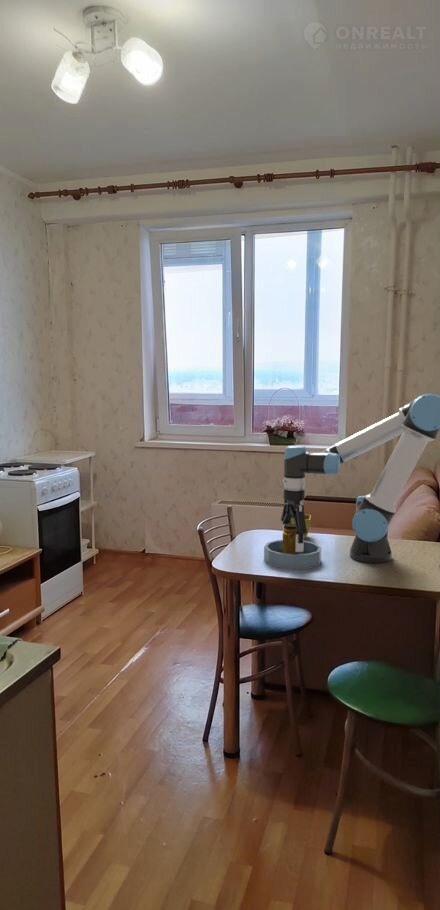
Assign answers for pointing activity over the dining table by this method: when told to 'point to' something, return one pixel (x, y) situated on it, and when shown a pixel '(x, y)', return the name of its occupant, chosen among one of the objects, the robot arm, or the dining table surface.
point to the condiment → (289, 539)
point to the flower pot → (307, 521)
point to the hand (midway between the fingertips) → (292, 546)
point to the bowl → (292, 556)
